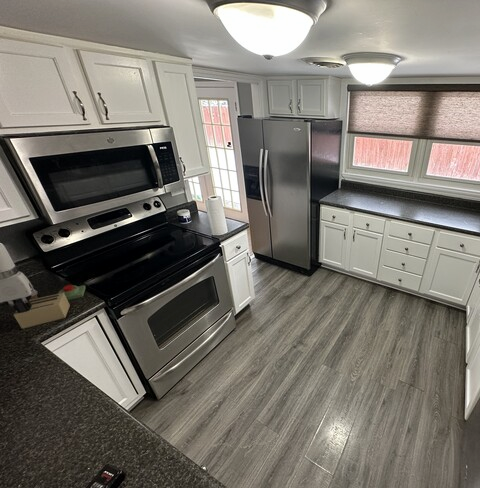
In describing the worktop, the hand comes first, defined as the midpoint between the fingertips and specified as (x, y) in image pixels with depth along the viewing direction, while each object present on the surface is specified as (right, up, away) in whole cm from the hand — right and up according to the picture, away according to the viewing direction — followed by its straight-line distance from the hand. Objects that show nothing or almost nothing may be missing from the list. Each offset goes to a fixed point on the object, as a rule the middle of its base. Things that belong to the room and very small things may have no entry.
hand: (24, 309), depth 111 cm
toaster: (+1, -5, +8) cm, 10 cm away
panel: (-2, +2, +22) cm, 23 cm away
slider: (0, 0, 0) cm, 0 cm away
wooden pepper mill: (-19, 0, +18) cm, 26 cm away
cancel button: (-2, +5, +21) cm, 22 cm away
